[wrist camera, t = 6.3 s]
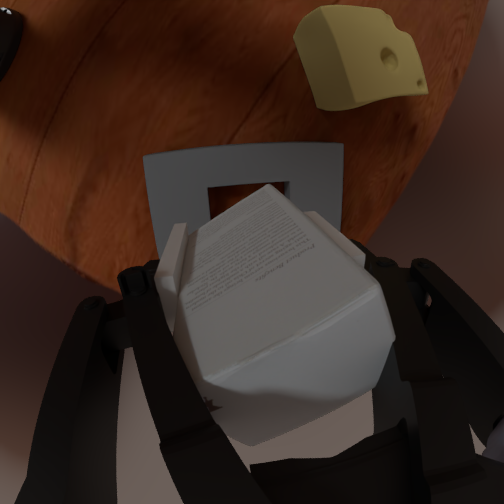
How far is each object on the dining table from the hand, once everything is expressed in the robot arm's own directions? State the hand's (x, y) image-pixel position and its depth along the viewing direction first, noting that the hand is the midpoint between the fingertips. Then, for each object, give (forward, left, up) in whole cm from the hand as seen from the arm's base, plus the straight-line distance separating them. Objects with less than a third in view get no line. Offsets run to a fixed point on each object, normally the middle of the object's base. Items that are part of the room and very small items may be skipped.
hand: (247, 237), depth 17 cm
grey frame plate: (+2, -3, -16) cm, 17 cm away
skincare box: (0, 0, -1) cm, 1 cm away
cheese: (+14, +15, -16) cm, 26 cm away
